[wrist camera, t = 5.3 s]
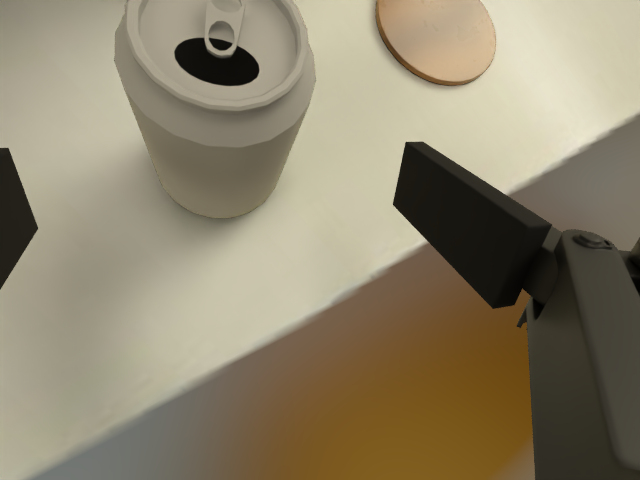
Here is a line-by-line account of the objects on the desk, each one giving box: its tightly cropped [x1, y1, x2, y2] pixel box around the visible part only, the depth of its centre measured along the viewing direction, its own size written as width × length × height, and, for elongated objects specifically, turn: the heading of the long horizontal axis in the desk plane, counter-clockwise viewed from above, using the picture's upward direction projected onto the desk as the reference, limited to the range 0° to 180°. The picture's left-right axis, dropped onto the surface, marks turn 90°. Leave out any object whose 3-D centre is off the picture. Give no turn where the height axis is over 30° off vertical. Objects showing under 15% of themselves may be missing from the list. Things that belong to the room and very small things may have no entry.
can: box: [114, 0, 316, 218], centre depth 18 cm, size 8×8×12 cm
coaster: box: [376, 0, 496, 85], centre depth 31 cm, size 11×11×1 cm
